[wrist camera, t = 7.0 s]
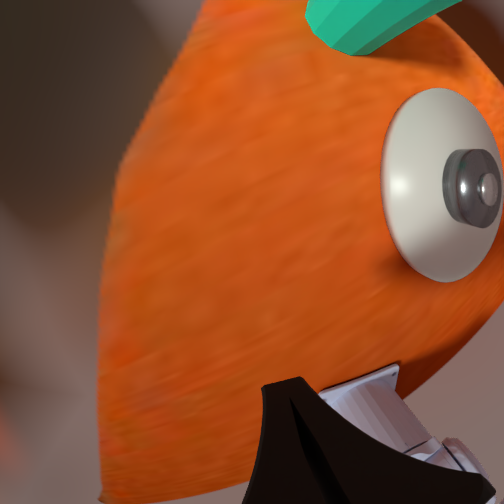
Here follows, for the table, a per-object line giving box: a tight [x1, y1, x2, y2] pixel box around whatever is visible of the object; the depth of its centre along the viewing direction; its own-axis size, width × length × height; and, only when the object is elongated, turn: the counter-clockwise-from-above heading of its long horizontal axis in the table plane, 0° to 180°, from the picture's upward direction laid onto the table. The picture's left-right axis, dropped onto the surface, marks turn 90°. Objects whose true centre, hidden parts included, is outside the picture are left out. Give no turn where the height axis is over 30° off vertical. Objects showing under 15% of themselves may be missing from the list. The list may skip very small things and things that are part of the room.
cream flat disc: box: [380, 88, 504, 282], centre depth 17 cm, size 16×16×1 cm
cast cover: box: [442, 149, 502, 228], centre depth 15 cm, size 6×6×3 cm
